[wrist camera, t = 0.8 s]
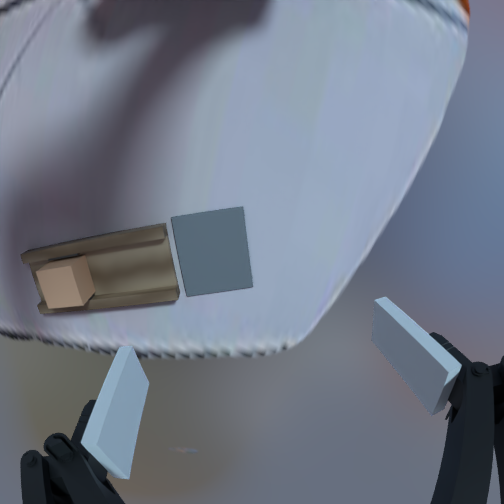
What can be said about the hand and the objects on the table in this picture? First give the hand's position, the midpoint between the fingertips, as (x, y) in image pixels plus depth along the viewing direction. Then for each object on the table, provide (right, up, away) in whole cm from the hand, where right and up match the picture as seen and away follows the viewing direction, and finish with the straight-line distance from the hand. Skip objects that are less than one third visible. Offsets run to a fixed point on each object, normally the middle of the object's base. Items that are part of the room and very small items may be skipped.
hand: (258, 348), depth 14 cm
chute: (-25, +2, +25) cm, 35 cm away
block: (-28, +1, +24) cm, 37 cm away
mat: (-6, +5, +26) cm, 28 cm away
